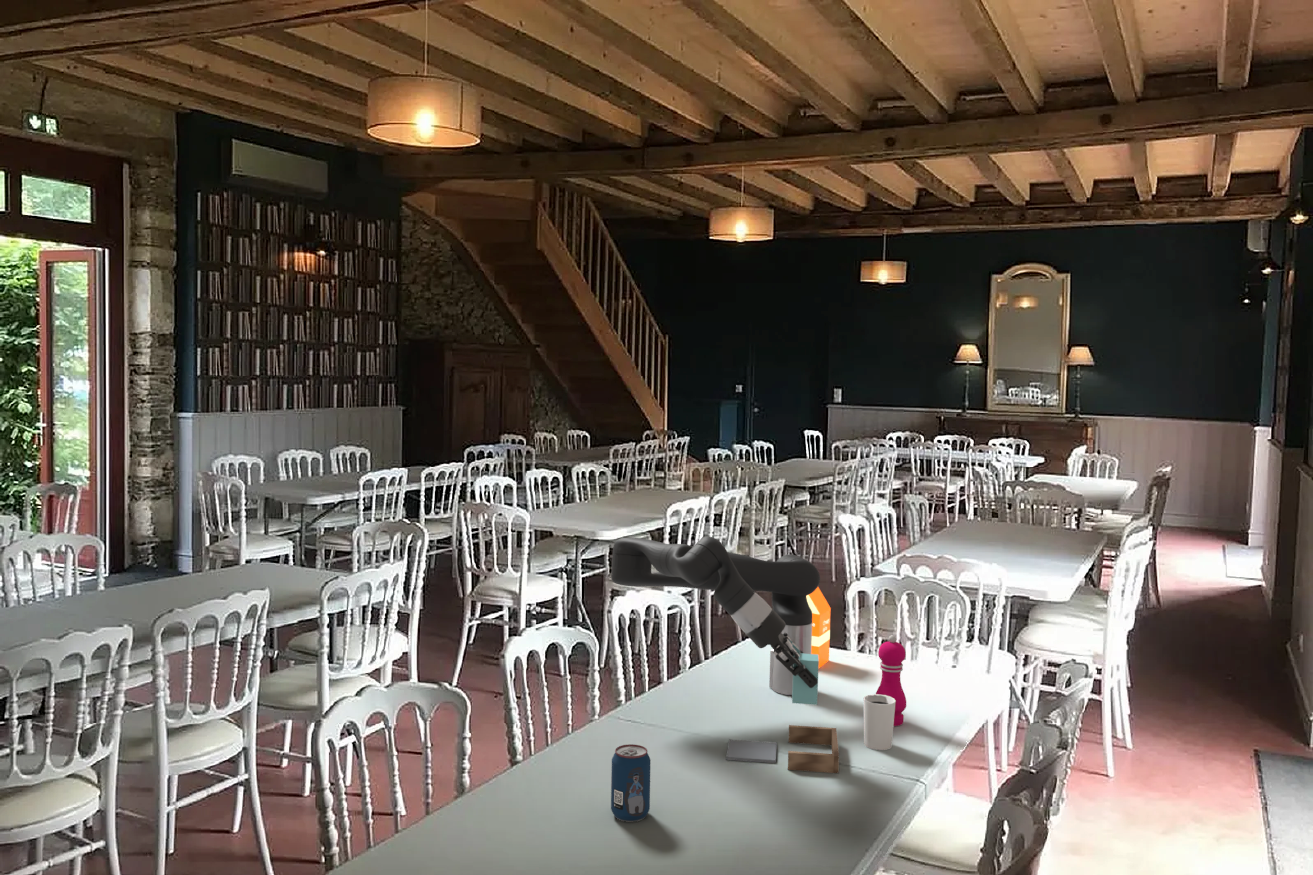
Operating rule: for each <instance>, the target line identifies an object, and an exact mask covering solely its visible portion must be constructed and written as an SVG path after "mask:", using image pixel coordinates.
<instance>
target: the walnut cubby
mask: <svg viewBox="0 0 1313 875" xmlns="http://www.w3.org/2000/svg"><path fill="white" fill-rule="evenodd" d="M837 731H838V730H837V727H827V726H826V727H825V726H824V727H823V726H810V725H794V724H789V725H788V744H802V745H803V744H804V745H805V744H806V745H818V746H819V745H820V746H830V747H831V748H830V749H831V753H828V752H827V753H823V752H809V751H796V750H795V751H794V750H788V751H787V752H788V755H787V770H788V771H800V772H802V771H803V772H812V773H814V772H815V773H828V774H829V773H831V774H839V770H840V753H839V752H840V751H839V742H838V732H837Z"/></svg>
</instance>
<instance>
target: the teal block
mask: <svg viewBox="0 0 1313 875" xmlns="http://www.w3.org/2000/svg"><path fill="white" fill-rule="evenodd" d="M799 655H800V661H801V662H802V663H803V664H804V665H805V666H806V668H807V669H808V670H809V671H810V672H811V673H812V674H813V675H814V676H815V677H816V678H817V680H818V681H819V669H820V668H819V657H818V654H803V653H800V654H799ZM794 656H795V655H794ZM797 666H798V665H797V664H796V663H794V664H793V667H794V668H796V667H797ZM818 687H819V682H818V683H817V684H816V685H815V686H814V687H813V688H810V687H809V686H808V685H807V684H806V683H805V682H804V681H803V680H802V679H801V678H800V677H799V676H797V675H796V676H794V675H793V690H792V695H791V698H792V699H791V700H792V701H791V702H792V704H800V705H801V704H802V705H814V706H815V705H818V691H819V689H818Z"/></svg>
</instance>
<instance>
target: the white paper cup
mask: <svg viewBox="0 0 1313 875" xmlns="http://www.w3.org/2000/svg"><path fill="white" fill-rule="evenodd" d="M895 702H896V700H895V699H894V698H892V697H890V696H886V695H880V694H876V693H875V694H867V695H865V696H864V697H863V745H864V747H866V748H868V749H871V750H875V751H886V750H889V749H892V746H893V738H894V736H893V735H894V726H893V725H894V714H895Z"/></svg>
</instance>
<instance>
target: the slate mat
mask: <svg viewBox="0 0 1313 875" xmlns="http://www.w3.org/2000/svg"><path fill="white" fill-rule="evenodd" d="M725 756H726V759H725V760H726V761H738V762H753V763H754V762H755V763H766V764H767V763H770V764H776V760H777V742H776V741H775V742H773V741H761V740H759V741H758V740H744V739H729V740H728V744H727V751H726V755H725Z"/></svg>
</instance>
